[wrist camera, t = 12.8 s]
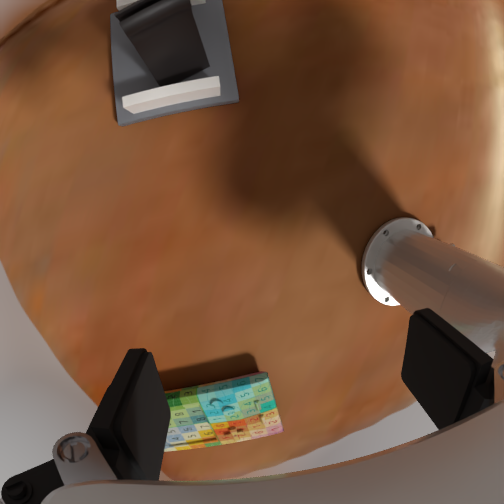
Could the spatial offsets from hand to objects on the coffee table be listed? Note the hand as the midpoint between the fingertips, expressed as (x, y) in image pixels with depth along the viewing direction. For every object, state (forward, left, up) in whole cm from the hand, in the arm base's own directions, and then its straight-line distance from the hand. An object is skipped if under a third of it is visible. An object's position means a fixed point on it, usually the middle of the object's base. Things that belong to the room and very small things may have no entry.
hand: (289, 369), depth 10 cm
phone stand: (+5, -22, -26) cm, 35 cm away
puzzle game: (+9, +26, -28) cm, 40 cm away
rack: (+5, -23, -28) cm, 36 cm away
